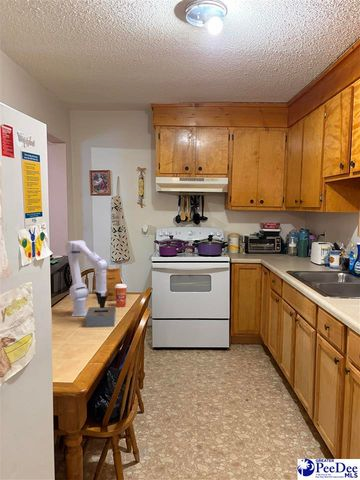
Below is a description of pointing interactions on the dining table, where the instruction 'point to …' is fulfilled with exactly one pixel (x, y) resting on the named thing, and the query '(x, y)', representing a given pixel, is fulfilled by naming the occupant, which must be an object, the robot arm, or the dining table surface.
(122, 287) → the paper cup
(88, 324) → the coin box
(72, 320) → the dining table surface
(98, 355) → the dining table surface
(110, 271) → the coffee package
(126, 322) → the dining table surface
